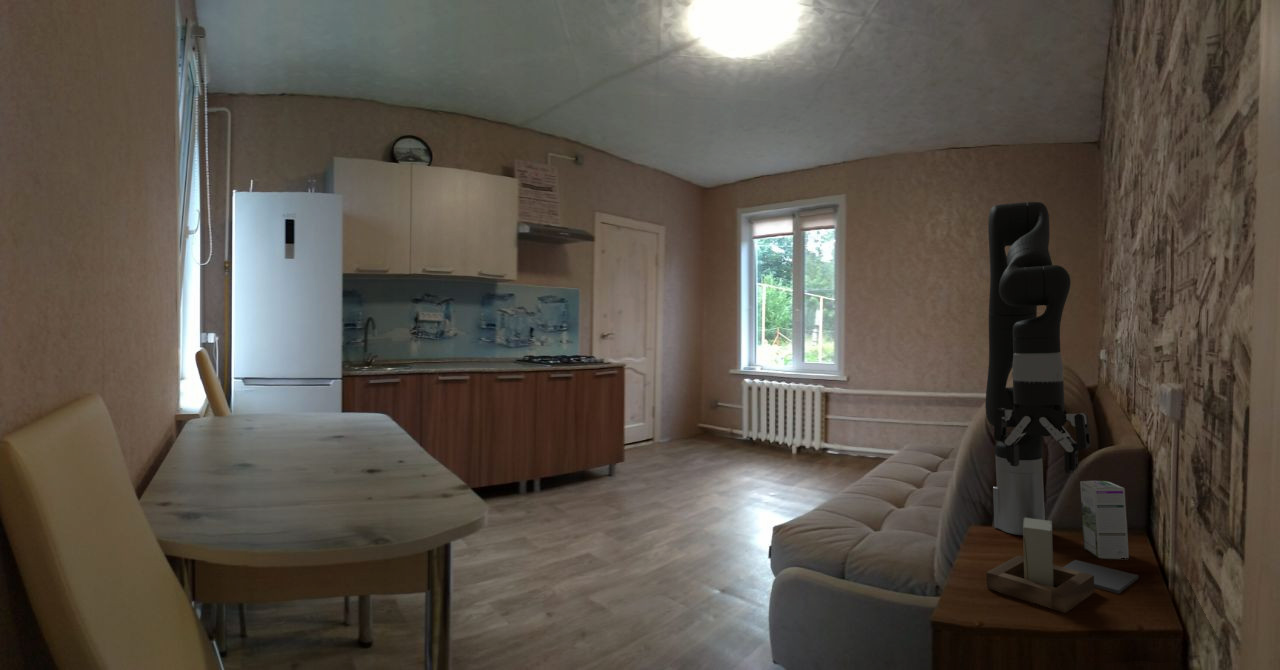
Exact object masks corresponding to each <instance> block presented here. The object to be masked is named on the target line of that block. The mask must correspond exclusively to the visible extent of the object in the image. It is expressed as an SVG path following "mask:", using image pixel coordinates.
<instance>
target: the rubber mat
mask: <svg viewBox="0 0 1280 670" xmlns="http://www.w3.org/2000/svg"><path fill="white" fill-rule="evenodd" d="M1063 567H1064V568H1068V569H1071V570H1075V571H1079V572H1083V573H1087V574H1091V575H1094V588H1097V589H1099V590H1102V591H1103V590H1104V591H1106V592H1111V593H1114V594H1118V595H1119V594H1121V593H1122V592H1123V591H1124V590H1126V589H1127V588H1128V587H1129V586H1131V585H1132V584H1133V583H1135V582H1136V581H1138V580H1139V575H1138V574H1135V573H1129V572H1127V571H1122V570H1119V569H1114V568H1110V567H1106V566H1101V565H1098V564H1094V563H1091V562H1086V561H1082V560H1078V559H1074V560H1073V561H1070V562H1069V563H1067V564H1066V565H1064V566H1063Z"/></svg>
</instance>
